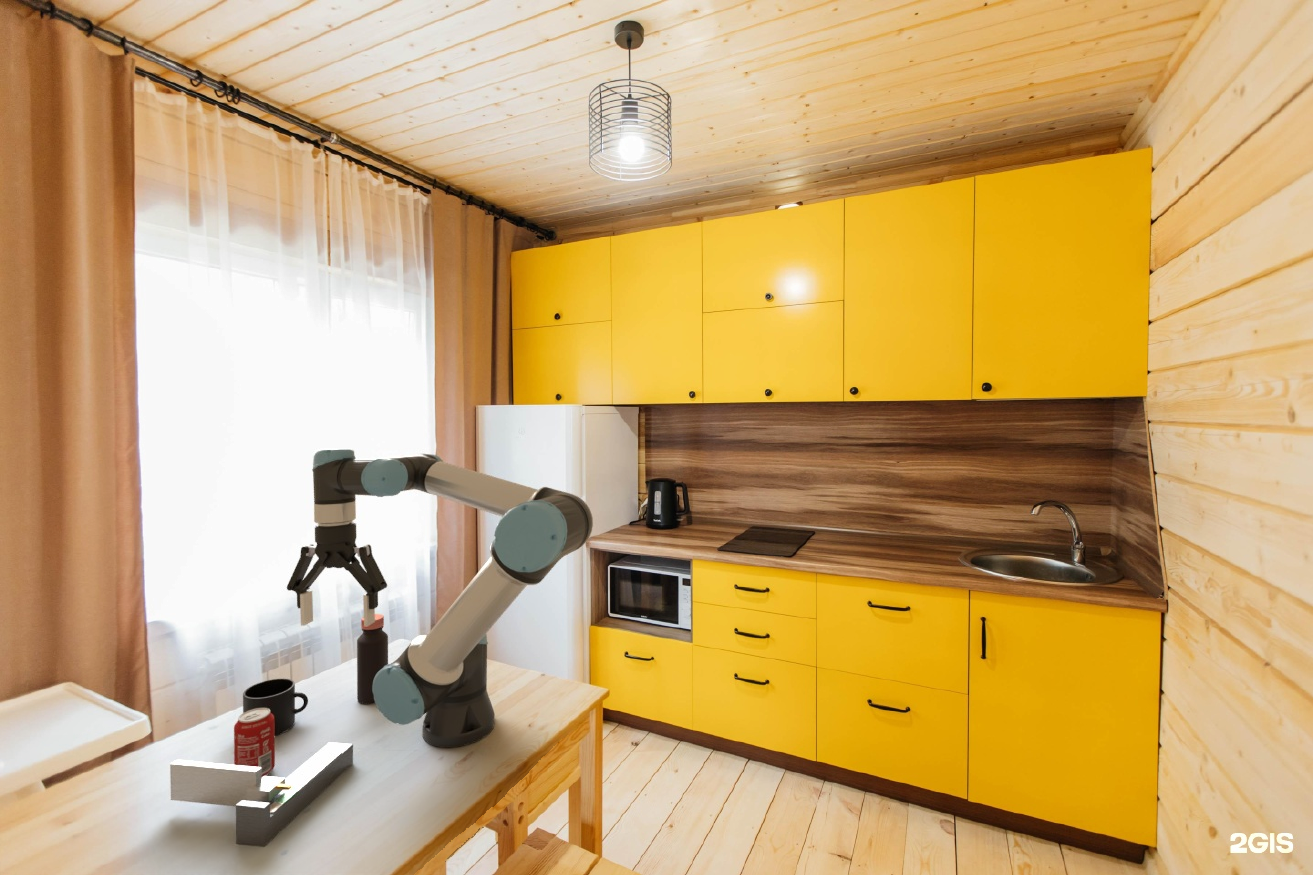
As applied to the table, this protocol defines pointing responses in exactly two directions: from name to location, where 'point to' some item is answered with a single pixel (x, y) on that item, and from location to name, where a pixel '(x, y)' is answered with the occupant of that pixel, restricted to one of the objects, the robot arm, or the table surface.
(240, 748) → the beverage can
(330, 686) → the table surface
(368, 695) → the bottle
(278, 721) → the mug
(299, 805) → the grey long bar
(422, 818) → the table surface
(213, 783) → the gauge paddle
